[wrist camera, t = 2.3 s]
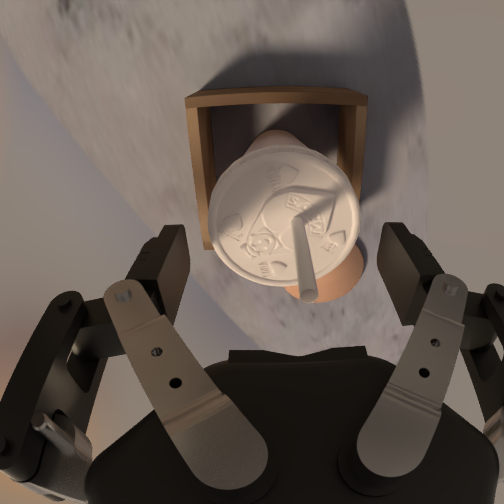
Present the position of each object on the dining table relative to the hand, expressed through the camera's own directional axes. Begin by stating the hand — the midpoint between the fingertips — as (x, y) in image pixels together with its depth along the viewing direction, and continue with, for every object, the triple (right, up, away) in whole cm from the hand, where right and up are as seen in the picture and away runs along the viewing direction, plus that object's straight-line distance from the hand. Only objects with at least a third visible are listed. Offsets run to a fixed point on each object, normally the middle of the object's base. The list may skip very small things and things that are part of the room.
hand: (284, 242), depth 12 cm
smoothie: (0, +6, +8) cm, 10 cm away
